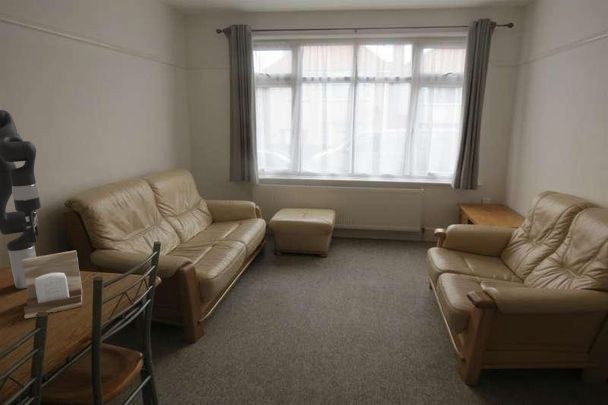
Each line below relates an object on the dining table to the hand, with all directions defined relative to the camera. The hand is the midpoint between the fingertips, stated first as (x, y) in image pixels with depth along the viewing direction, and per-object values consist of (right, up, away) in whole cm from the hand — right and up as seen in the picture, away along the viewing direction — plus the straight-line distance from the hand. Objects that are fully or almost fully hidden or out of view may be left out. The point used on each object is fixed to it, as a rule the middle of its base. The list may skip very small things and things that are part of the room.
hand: (34, 239), depth 137 cm
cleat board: (+3, -26, +8) cm, 28 cm away
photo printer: (+4, -26, +6) cm, 27 cm away
